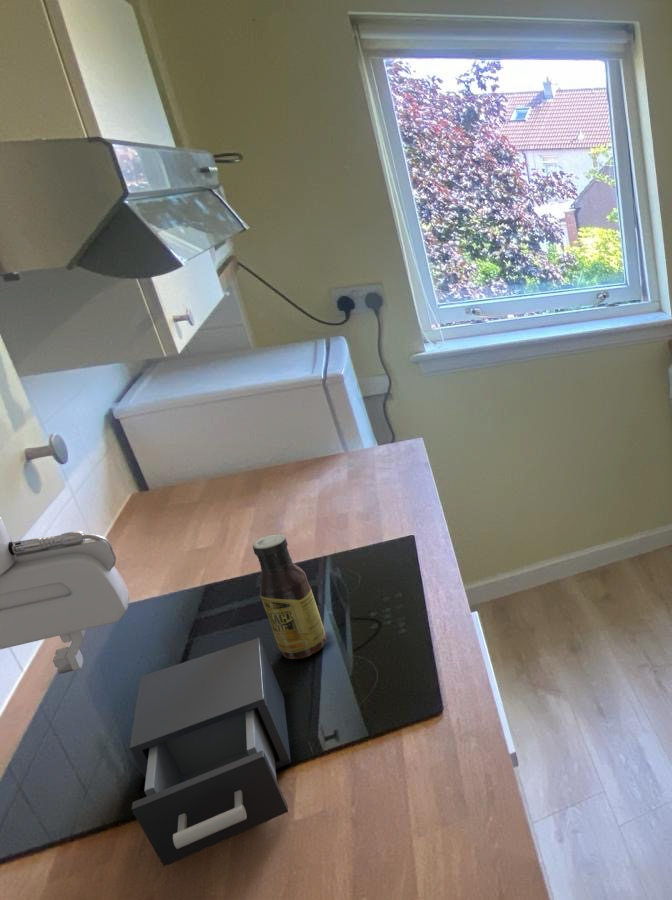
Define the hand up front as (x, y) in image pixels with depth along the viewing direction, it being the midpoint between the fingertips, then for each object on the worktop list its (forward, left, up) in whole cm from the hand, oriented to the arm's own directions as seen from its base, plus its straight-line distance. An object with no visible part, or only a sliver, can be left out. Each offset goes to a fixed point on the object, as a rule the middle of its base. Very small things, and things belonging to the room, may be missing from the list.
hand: (0, 685), depth 66 cm
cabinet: (+9, +19, -29) cm, 36 cm away
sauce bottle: (+19, +37, -30) cm, 51 cm away
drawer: (+9, +6, -28) cm, 30 cm away
